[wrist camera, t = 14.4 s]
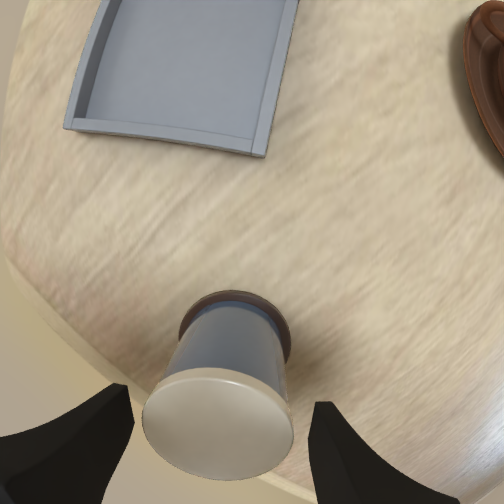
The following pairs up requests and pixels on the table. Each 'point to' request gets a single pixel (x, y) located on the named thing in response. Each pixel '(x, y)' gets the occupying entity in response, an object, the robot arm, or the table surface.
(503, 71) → the cup and saucer
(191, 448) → the canister
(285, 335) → the coaster
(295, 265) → the table surface
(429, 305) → the table surface
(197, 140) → the tray
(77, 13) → the table surface
